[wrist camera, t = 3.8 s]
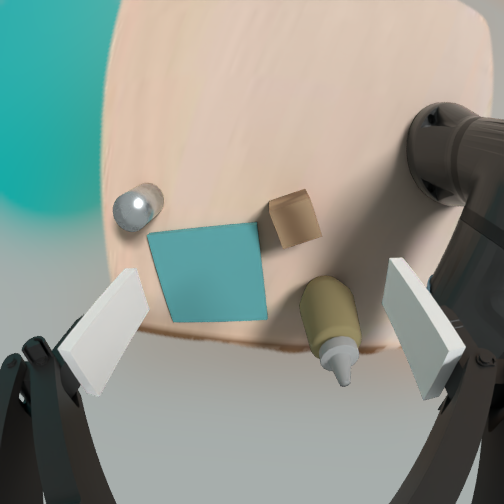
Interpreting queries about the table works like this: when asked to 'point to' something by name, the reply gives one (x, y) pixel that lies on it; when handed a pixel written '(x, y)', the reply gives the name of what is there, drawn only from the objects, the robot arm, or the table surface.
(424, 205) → the table surface
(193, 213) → the table surface
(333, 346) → the squeeze bottle
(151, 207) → the grey metal tin
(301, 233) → the walnut block
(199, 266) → the teal mat
